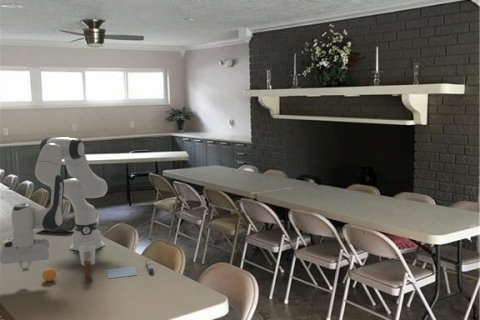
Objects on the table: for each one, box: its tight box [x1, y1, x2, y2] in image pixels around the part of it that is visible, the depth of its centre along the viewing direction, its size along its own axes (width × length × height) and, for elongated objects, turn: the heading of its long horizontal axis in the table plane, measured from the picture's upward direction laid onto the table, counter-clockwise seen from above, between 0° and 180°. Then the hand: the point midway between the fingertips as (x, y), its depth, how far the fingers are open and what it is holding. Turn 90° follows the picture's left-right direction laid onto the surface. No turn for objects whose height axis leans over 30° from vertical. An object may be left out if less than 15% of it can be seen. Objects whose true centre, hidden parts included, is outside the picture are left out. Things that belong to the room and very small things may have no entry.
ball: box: [41, 267, 57, 282], centre depth 235 cm, size 6×6×6 cm
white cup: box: [78, 242, 96, 266], centre depth 258 cm, size 8×8×10 cm
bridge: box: [83, 251, 93, 283], centre depth 239 cm, size 3×15×10 cm, turn 17°
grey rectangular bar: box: [145, 259, 155, 275], centre depth 248 cm, size 14×2×2 cm, turn 17°
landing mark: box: [106, 266, 138, 280], centre depth 244 cm, size 13×13×1 cm
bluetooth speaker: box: [47, 215, 75, 233], centre depth 325 cm, size 23×9×10 cm, turn 73°
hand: (25, 271), depth 231 cm, fingers closed
